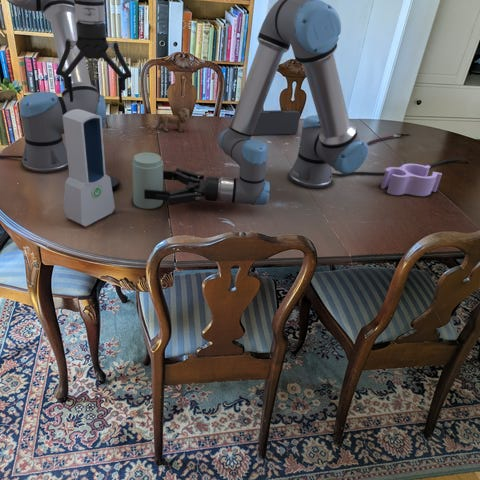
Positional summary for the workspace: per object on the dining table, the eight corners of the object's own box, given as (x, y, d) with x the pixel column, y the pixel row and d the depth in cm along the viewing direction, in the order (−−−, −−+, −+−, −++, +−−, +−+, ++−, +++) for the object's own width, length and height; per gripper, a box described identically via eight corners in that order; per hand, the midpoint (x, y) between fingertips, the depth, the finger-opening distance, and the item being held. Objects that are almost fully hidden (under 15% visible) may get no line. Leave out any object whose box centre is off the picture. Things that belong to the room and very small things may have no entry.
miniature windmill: (99, 133, 186) (93, 55, 170) (79, 130, 187) (71, 51, 171) (109, 126, 194) (104, 50, 178) (90, 123, 195) (83, 47, 179)
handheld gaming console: (295, 131, 210) (298, 109, 204) (297, 134, 208) (301, 111, 202) (247, 133, 203) (249, 110, 197) (249, 135, 201) (251, 112, 195)
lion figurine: (187, 126, 202) (187, 106, 197) (190, 131, 198) (191, 110, 193) (153, 128, 197) (153, 107, 193) (156, 132, 193) (155, 111, 188)
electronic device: (82, 228, 128) (71, 122, 112) (63, 219, 131) (50, 114, 115) (115, 211, 137) (109, 111, 121) (97, 203, 140) (89, 104, 124)
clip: (394, 198, 162) (399, 180, 158) (374, 182, 171) (379, 165, 168) (440, 194, 168) (447, 177, 164) (419, 179, 178) (424, 162, 174)
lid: (125, 186, 151) (124, 181, 150) (101, 196, 144) (101, 191, 143) (104, 176, 156) (104, 172, 155) (81, 186, 149) (80, 181, 148)
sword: (406, 132, 223) (406, 130, 222) (411, 134, 221) (412, 132, 220) (362, 144, 207) (363, 141, 206) (368, 146, 205) (368, 143, 204)
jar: (129, 197, 145) (127, 153, 137) (156, 193, 149) (156, 150, 141) (139, 210, 139) (137, 165, 131) (167, 206, 143) (167, 161, 135)
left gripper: (38, 21, 118) (49, 104, 130) (139, 27, 124) (141, 105, 136) (41, 16, 124) (51, 95, 136) (137, 22, 130) (139, 97, 142)
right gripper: (216, 220, 133) (141, 215, 132) (219, 182, 154) (154, 177, 153) (217, 197, 129) (140, 191, 128) (220, 161, 150) (154, 155, 149)
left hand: (96, 101), depth 136 cm, fingers open, 13 cm apart
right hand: (148, 183), depth 141 cm, fingers open, 13 cm apart
